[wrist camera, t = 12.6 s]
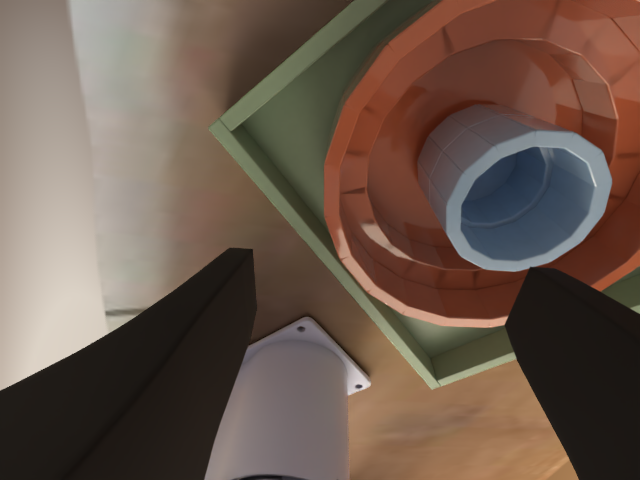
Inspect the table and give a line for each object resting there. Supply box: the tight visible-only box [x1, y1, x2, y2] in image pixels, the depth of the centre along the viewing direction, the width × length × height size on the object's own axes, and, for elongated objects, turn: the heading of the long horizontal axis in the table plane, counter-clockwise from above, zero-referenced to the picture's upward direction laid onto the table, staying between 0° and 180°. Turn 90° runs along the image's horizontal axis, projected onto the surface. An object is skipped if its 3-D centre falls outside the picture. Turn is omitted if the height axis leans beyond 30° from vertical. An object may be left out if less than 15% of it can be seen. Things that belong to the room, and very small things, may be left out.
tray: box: [208, 0, 640, 389], centre depth 16 cm, size 17×20×2 cm
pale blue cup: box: [417, 104, 612, 272], centre depth 13 cm, size 5×5×6 cm
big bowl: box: [324, 0, 640, 328], centre depth 14 cm, size 13×13×5 cm
